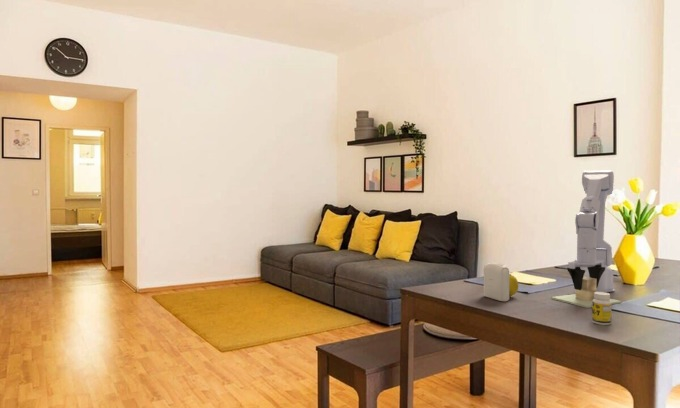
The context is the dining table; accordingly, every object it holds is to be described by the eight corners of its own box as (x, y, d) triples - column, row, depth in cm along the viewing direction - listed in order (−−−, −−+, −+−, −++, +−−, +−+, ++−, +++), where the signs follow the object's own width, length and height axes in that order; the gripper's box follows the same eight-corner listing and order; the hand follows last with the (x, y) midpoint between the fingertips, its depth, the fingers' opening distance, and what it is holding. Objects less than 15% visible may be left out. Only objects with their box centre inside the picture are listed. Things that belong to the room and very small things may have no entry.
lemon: (519, 299, 169) (519, 275, 169) (502, 298, 170) (502, 275, 170) (516, 295, 174) (517, 272, 174) (500, 294, 176) (500, 272, 175)
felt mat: (584, 294, 176) (585, 292, 176) (621, 302, 163) (621, 301, 163) (551, 298, 169) (551, 296, 169) (586, 307, 157) (586, 305, 157)
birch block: (584, 297, 169) (585, 276, 169) (596, 299, 165) (596, 278, 165) (575, 298, 167) (575, 277, 167) (586, 301, 163) (587, 279, 163)
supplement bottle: (588, 320, 142) (589, 291, 141) (604, 320, 142) (604, 291, 142) (598, 325, 137) (599, 295, 137) (614, 325, 137) (615, 294, 137)
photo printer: (481, 296, 174) (481, 260, 174) (491, 295, 175) (492, 260, 175) (500, 302, 164) (500, 265, 164) (511, 301, 166) (511, 264, 165)
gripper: (591, 245, 172) (590, 284, 173) (560, 247, 166) (560, 288, 167) (609, 248, 166) (609, 288, 166) (578, 250, 160) (578, 292, 160)
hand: (585, 288), depth 166 cm, fingers open, 7 cm apart
